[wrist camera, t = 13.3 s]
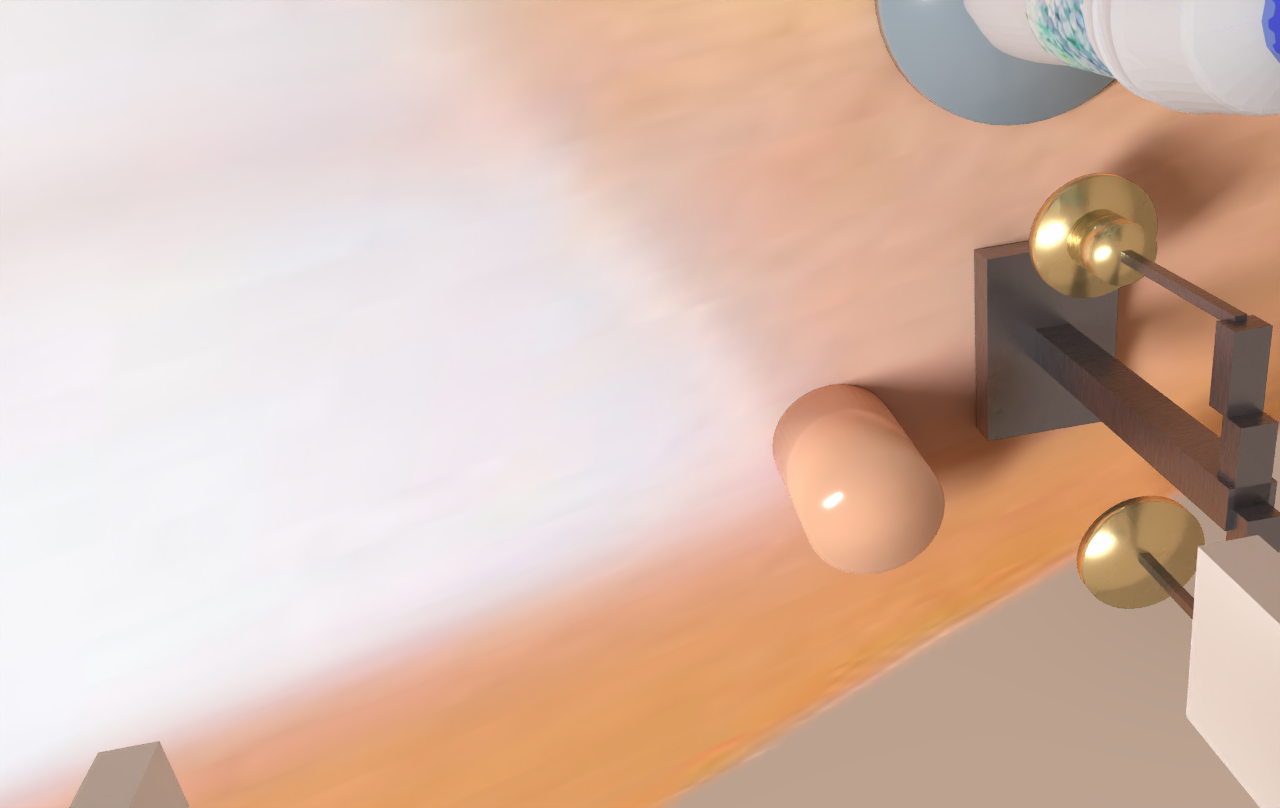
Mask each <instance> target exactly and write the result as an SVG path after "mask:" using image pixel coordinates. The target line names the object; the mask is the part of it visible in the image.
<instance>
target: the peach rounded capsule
mask: <svg viewBox="0 0 1280 808" xmlns="http://www.w3.org/2000/svg"><path fill="white" fill-rule="evenodd" d="M773 455H774V460H775V463H776V466H777V468H778V470H779V473H780V475H781V477H782V480H783V482H784V484H785V486H786V489H787V491H788V493H789V496H790V498H791V500H792V503H793V505H794V507H795V510H796V512H797V514H798V516H799V519H800V521H801V523H802V526H803V528H804V530H805V533H806V535H807V537H808V540H809V542H810V544H811V546H812V548H813V549H814V550H815V552H816V553H817V555H818V556H819V557H820V558H821V559H823V560H824V561H825V562H826V563H828V564H829V565H831V566H833V567H835V568H836V569H839V570H842V571H844V572H849V573H853V574H877V573H882V572H887V571H890V570H893V569H896V568H898V567H900V566H902V565H904V564H906V563H908V562H909V561H911V560H913V559H914V558H915V557H917V556H918V555H919V554H920V553H921V552H922V551H923V550H925V549H926V547H927V546H928V545H929V544H930V543H931V542H932V540H933V538H934V537H935V535H936V534H937V532H938V530H939V528H940V525H941V522H942V519H943V515H944V506H945V501H944V494H943V490H942V487H941V484H940V482H939V480H938V478H937V477H936V475H935V474H934V472H933V471H932V470H931V468H930V467H929V465H928V464H927V463H926V461H925V460H924V458H923V457H922V456H921V454H920V453H919V451H918V450H917V449H916V447H915V446H914V444H913V443H912V442H911V440H910V439H909V437H908V436H907V435H906V433H905V432H904V430H903V429H902V427H901V426H900V425H899V423H898V422H897V420H896V419H895V418H894V416H893V415H892V413H891V412H890V411H889V409H888V408H887V406H886V405H885V404H884V403H883V402H882V400H881V399H879V398H878V397H877V396H876V395H875V394H873V393H871V392H870V391H868V390H865V389H863V388H860V387H857V386H852V385H829V386H825V387H821V388H818V389H815V390H813V391H811V392H809V393H807V394H805V395H803V396H802V397H800V398H799V399H798V400H796V401H795V402H794V403H793V404H792V405H791V406H790V407H789V408H788V409H787V410H786V412H785V413H784V414H783V416H782V417H781V419H780V421H779V423H778V425H777V427H776V430H775V433H774V437H773Z"/></svg>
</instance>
